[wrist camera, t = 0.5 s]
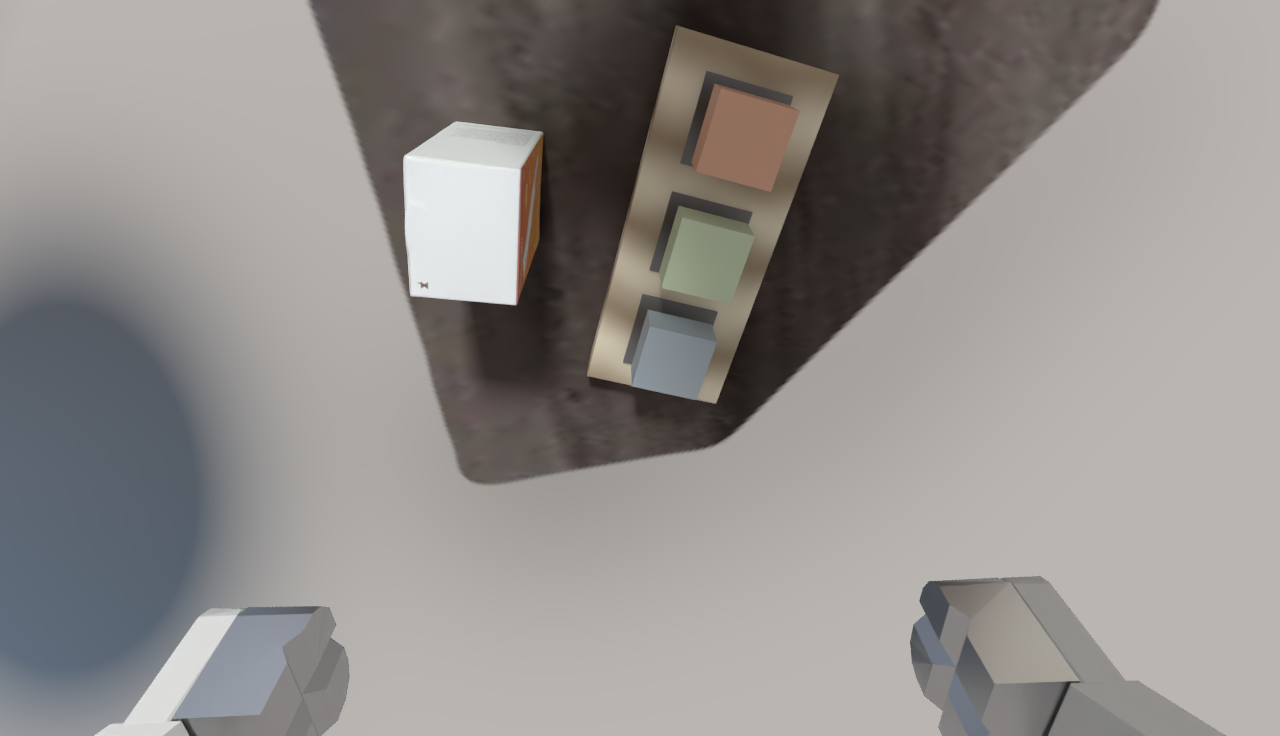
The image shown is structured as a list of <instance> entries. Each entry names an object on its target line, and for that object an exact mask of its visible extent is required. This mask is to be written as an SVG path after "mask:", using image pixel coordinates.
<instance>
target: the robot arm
mask: <svg viewBox="0 0 1280 736" xmlns="http://www.w3.org/2000/svg"><path fill="white" fill-rule="evenodd" d="M920 604H921V606H922V607H923V609H924V612H925V613H926V614H925V615H924V616H923V617H921V618H920V619H919V620H918V621H917V622H916V623H915V624H914V625H913V630H912V635H911V640H910V645H911V657H912V664H913V667H914V671H915V674H916V678H917V680H918V682H919V685H920V687H921V690H922V692H923V694H924V696H925V697H926V698H928V699H929V700H930V701H931V702H933V703H934V704H935V705H936V706H937V707H939V708H940V709H941V710H943V712H942V716H941V720H940V723H939V730H940V732H941V734H942V736H1226V735H1224V734H1222V733H1221V732H1219V731H1217V730H1216V729H1214V728H1213V727H1211V726H1210V725H1208V724H1206V723H1205V722H1203V721H1202V720H1200V719H1198V718H1197V717H1195V716H1194V715H1192V714H1190V713H1189V712H1187V711H1186V710H1184V709H1182V708H1181V707H1179V706H1178V705H1176V704H1174V703H1173V702H1171V701H1170V700H1168V699H1166V698H1165V697H1163V696H1162V695H1160V694H1158V693H1157V692H1155V691H1153V690H1152V689H1150V688H1149V687H1147V686H1146V685H1144V684H1142V683H1141V682H1139V681H1126V680H1125V679H1124V678H1123V677H1122V676H1121V674H1120V673H1119V671H1118V670H1117V669H1116V668H1115V666H1114V665H1113V664H1112V662H1111V661H1110V660H1109V659H1108V657H1107V656H1106V655H1105V653H1104V652H1103V651H1102V649H1101V648H1100V647H1099V646H1098V644H1097V643H1096V642H1095V641H1094V639H1093V638H1092V637H1091V635H1090V634H1089V633H1088V631H1087V630H1086V629H1085V628H1084V626H1083V625H1082V624H1081V622H1080V621H1079V620H1078V618H1077V617H1076V616H1075V615H1074V613H1073V612H1072V611H1071V609H1070V608H1069V607H1068V606H1067V605H1066V603H1065V602H1064V600H1063V599H1062V598H1061V596H1060V595H1059V594H1058V593H1057V591H1056V590H1055V589H1054V588H1053V586H1052V585H1051V584H1050V583H1049V582H1048V581H1046V580H1045V579H1044V578H1042V577H1040V576H1036V577H1035V576H1034V577H1011V578H1001V579H999V578H985V579H965V580H947V581H946V580H945V581H929V582H928V583H927V584H926V585H925V586H924V587H923V590H922V594H921V597H920ZM335 626H336V623H335V620H334V618H333V616H332V613H331V611H330V608H328V607H322V606H308V607H307V606H305V607H248V608H214V609H213V608H211V609H210V610H208V611H207V612H205V613H204V614H202V615H201V616H199V617H198V618H197V620H196V621H195V622H194V624H193V625H192V627H191V628H190V630H189V631H188V632H187V634H186V635H185V637H184V638H183V639H182V641H181V642H180V644H179V645H178V646H177V648H176V649H175V651H174V652H173V654H172V655H171V656H170V658H169V659H168V661H167V662H166V663H165V665H164V666H163V668H162V669H161V671H160V672H159V673H158V675H157V676H156V678H155V679H154V681H153V682H152V683H151V685H150V686H149V688H148V689H147V690H146V692H145V693H144V695H143V696H142V698H141V699H140V700H139V702H138V703H137V705H136V706H135V707H134V709H133V710H132V712H131V713H130V715H129V716H128V717H127V719H126V720H125V722H124V723H116V724H110V725H109V726H107V727H106V728H104V729H103V730H102V731H100V732H99V733H98V734H96V735H95V736H321V735H322V734H323V733H325V731H327V730H328V729H329V728H330V727H331V726H332V725H333V724H334V723H336V721H338V718H339V715H340V713H341V710H342V708H343V705H344V702H345V699H346V694H347V688H348V682H349V664H348V658H347V655H346V652H345V649H344V647H343V646H342V645H340V644H339V643H337V642H336V641H335V640H333V639H332V638H330V637H331V635H332V633H333V631H334V628H335Z"/></svg>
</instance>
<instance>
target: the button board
mask: <svg viewBox="0 0 1280 736" xmlns="http://www.w3.org/2000/svg"><path fill="white" fill-rule="evenodd" d="M838 77H839V75H838V74H835V73H832V72H829V71H825V70H822V69H819V68H815V67H812V66H809V65H805V64H802V63H799V62H796V61H792V60H789V59H786V58H782V57H779V56H776V55H772V54H769V53H766V52H763V51H759V50H756V49H753V48H749V47H746V46H743V45H739V44H736V43H733V42H730V41H726V40H723V39H720V38H716V37H713V36H710V35H706V34H703V33H700V32H697V31H693V30H690V29H687V28H683V27H680V26H677V25H676V27H675V31H674V35H673V39H672V43H671V46H670V50H669V54H668V58H667V62H666V66H665V70H664V73H663V77H662V81H661V85H660V89H659V93H658V97H657V100H656V104H655V108H654V112H653V116H652V120H651V124H650V127H649V131H648V135H647V139H646V143H645V147H644V150H643V154H642V158H641V162H640V166H639V170H638V174H637V177H636V181H635V185H634V189H633V193H632V197H631V201H630V204H629V208H628V212H627V216H626V220H625V224H624V228H623V231H622V235H621V239H620V243H619V247H618V251H617V255H616V258H615V262H614V266H613V270H612V274H611V278H610V282H609V285H608V289H607V293H606V297H605V301H604V305H603V308H602V312H601V316H600V320H599V324H598V328H597V332H596V335H595V339H594V343H593V347H592V351H591V355H590V359H589V362H588V370H587V376H590V377H594V378H599V379H603V380H608V381H613V382H617V383H622V384H627V385H631V386H632V380H631V365H632V362H633V359H634V355H635V352H636V348H637V345H638V342H639V338H640V335H641V331H642V328H643V325H644V321H645V318H646V314H647V311H648V310H652V311H656V312H661V313H665V314H669V315H673V316H678V317H682V318H686V319H690V320H695V321H699V322H703V323H708V324H712V327H713V330H714V333H715V337H716V340H717V344H716V347H715V350H714V352H713V355H712V358H711V361H710V364H709V366H708V369H707V372H706V375H705V378H704V380H703V383H702V386H701V389H700V392H699V394H698V397H697V400H701V401H705V402H710V403H714V404H716V402H717V400H718V397H719V394H720V392H721V389H722V386H723V384H724V381H725V378H726V376H727V373H728V370H729V368H730V365H731V362H732V360H733V357H734V354H735V352H736V349H737V346H738V344H739V341H740V338H741V336H742V333H743V330H744V328H745V325H746V322H747V320H748V317H749V315H750V312H751V309H752V307H753V304H754V301H755V299H756V296H757V293H758V291H759V288H760V285H761V283H762V280H763V277H764V275H765V272H766V269H767V267H768V264H769V261H770V259H771V256H772V253H773V251H774V248H775V245H776V243H777V240H778V237H779V235H780V232H781V229H782V227H783V224H784V221H785V219H786V216H787V213H788V211H789V208H790V205H791V203H792V200H793V197H794V195H795V192H796V189H797V187H798V184H799V181H800V179H801V176H802V173H803V171H804V168H805V165H806V163H807V160H808V157H809V155H810V152H811V149H812V147H813V144H814V141H815V139H816V136H817V133H818V131H819V128H820V125H821V123H822V120H823V117H824V115H825V112H826V109H827V107H828V104H829V101H830V99H831V96H832V93H833V91H834V88H835V85H836V83H837V80H838ZM714 84H718V85H722V86H725V87H729V88H732V89H735V90H739V91H742V92H746V93H749V94H753V95H756V96H759V97H763V98H766V99H770V100H773V101H777V102H780V103H783V104H787V105H789V106H791V107H793V108H795V109H797V110H798V111H800V112H799V115H798V118H797V120H796V123H795V126H794V129H793V132H792V134H791V137H790V140H789V143H788V146H787V148H786V151H785V154H784V157H783V160H782V162H781V165H780V168H779V171H778V174H777V176H776V179H775V182H774V185H773V188H772V190H771V192H769V191H765V190H761V189H758V188H754V187H750V186H747V185H743V184H739V183H735V182H732V181H728V180H724V179H721V178H717V177H713V176H709V175H706V174H702V173H698V172H696V171H695V169H694V166H693V164H692V159H693V155H694V152H695V148H696V145H697V142H698V138H699V135H700V131H701V128H702V125H703V121H704V118H705V114H706V111H707V108H708V104H709V101H710V98H711V94H712V91H713V87H714ZM678 206H682V207H686V208H690V209H694V210H697V211H701V212H705V213H709V214H713V215H717V216H720V217H724V218H728V219H732V220H736V221H740V222H743V223H747V224H748V226H749V227H750V229H751V231H752V232H753V234H754V236H755V238H754V241H753V243H752V246H751V249H750V252H749V255H748V257H747V260H746V263H745V266H744V269H743V271H742V274H741V277H740V280H739V283H738V285H737V288H736V291H735V294H734V297H733V299H732V302H731V304H726V303H722V302H718V301H714V300H710V299H706V298H701V297H697V296H693V295H689V294H685V293H681V292H677V291H672V290H668V289H664V288H661V283H660V276H659V270H660V267H661V264H662V260H663V257H664V253H665V250H666V247H667V243H668V240H669V237H670V233H671V230H672V226H673V223H674V220H675V216H676V213H677V209H678Z"/></svg>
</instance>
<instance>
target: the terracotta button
mask: <svg viewBox="0 0 1280 736" xmlns="http://www.w3.org/2000/svg"><path fill="white" fill-rule="evenodd" d="M799 112H800V111H798V110H797V109H795V108H793V107H791V106H789V105H787V104H783V103H780V102H777V101H773V100H770V99H766V98H763V97H759V96H756V95H753V94H749V93H746V92H742V91H739V90H735V89H732V88H729V87H725V86H722V85H718V84H714V87H713V91H712V94H711V98H710V101H709V104H708V108H707V111H706V114H705V118H704V121H703V125H702V128H701V131H700V135H699V138H698V142H697V145H696V148H695V152H694V155H693V159H692V164H693V166H694V169H695V171H696V172H698V173H702V174H706V175H709V176H713V177H717V178H721V179H724V180H728V181H732V182H735V183H739V184H743V185H747V186H750V187H754V188H758V189H761V190H765V191H769V192H771V190H772V188H773V185H774V182H775V179H776V176H777V174H778V171H779V168H780V165H781V162H782V160H783V157H784V154H785V151H786V148H787V146H788V143H789V140H790V137H791V134H792V132H793V129H794V126H795V123H796V120H797V118H798V115H799Z"/></svg>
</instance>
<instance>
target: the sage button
mask: <svg viewBox="0 0 1280 736" xmlns="http://www.w3.org/2000/svg"><path fill="white" fill-rule="evenodd" d="M754 238H755V236H754V234H753V232H752V231H751V229H750V227H749V226H748V224H747V223H743V222H740V221H736V220H732V219H728V218H724V217H720V216H717V215H713V214H709V213H705V212H701V211H697V210H694V209H690V208H686V207H682V206H678V209H677V213H676V216H675V220H674V223H673V226H672V230H671V233H670V237H669V240H668V243H667V247H666V250H665V253H664V257H663V260H662V264H661V267H660V270H659V276H660V283H661V288H664V289H668V290H672V291H677V292H681V293H685V294H689V295H693V296H697V297H701V298H706V299H710V300H714V301H718V302H722V303H726V304H731V302H732V299H733V297H734V294H735V291H736V288H737V285H738V283H739V280H740V277H741V274H742V271H743V269H744V266H745V263H746V260H747V257H748V255H749V252H750V249H751V246H752V243H753V241H754Z"/></svg>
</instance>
